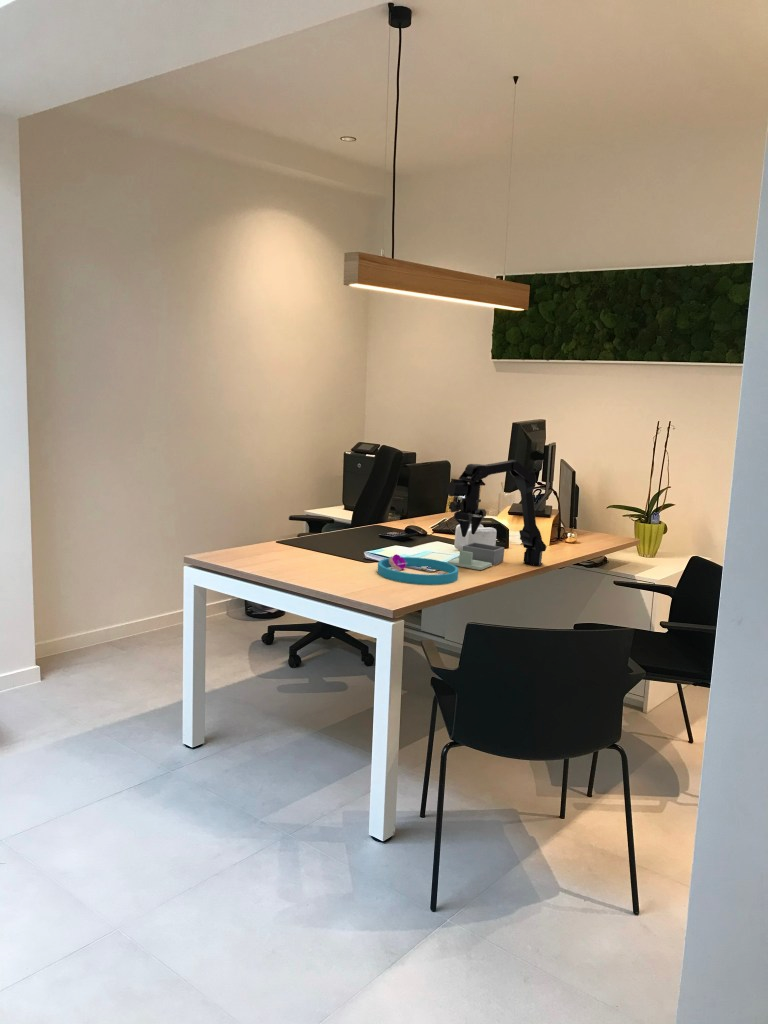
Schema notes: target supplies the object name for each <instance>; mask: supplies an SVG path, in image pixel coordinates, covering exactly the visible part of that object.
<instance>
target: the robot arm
mask: <svg viewBox="0 0 768 1024" xmlns="http://www.w3.org/2000/svg"><path fill="white" fill-rule="evenodd" d="M507 472H509V473H510V475H511V476H512V477H513V478H514V481H515V485H516V487H517V489H518V491H519V493H520V499H521V508H522V509H521V510H522V511H521V512H522V519H523V527H522V529H520V530H518V531H519V535H520V536H519V540H520V541H521V543H522V545H523V548H524V549H525V551H524V553H523V562H522V564H524V565H529V566H534V567H535V566H536V567H539V566H541V565H543V562H542V559H543V552H546V549H547V545H546V544H545V542H544V541H543V537H542V534H541V530H540V529H539V527H538V526H537V521H536V511H535V500H534V490H535V487H536V481H537V478H536V474H535V472H533V471H530V470H529V469H528V468H526V467H525V466H524V465H522V464H521V463H520V462H519V461H518V460H515V459H509V460H506V461H500V462H499V461H498V462H494V463H493V462H492V463H488V464H480V463H469V464H467V465H466V466H465V468H464V471H463V472H462V473H461V475H460V476H459V478H451V479H450V482H448V484H447V487H446V491H447V494H448V496H449V497H462V498H461V502H457V501H450V502H449V505H448V509H449V511H450V512H451V513H454V514H453V519H455V521H456V522H457V523H458V525H459V524H460V528H461V533H462V537H465V536H466V534H467V532H468V529H469V527H470V524H471V533H472V534H475V532H476V531H477V529H478V527H479V525H480V524H481V523H482V522H483V520H484V519H485V517H486V516H487V510H486V509H485V508H481V507H479V504H480V503H481V502H482V499H480V494H481V486H482V487H483V486H484V487H485V486H486V483H485V482H484V480H483V479H486V478H487V477H488V476H491V475H495V474H501V473H502V474H503V473H507ZM463 497H464V498H463ZM481 525H482V524H481Z"/></svg>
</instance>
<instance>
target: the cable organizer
mask: <svg viewBox="0 0 768 1024" xmlns="http://www.w3.org/2000/svg"><path fill="white" fill-rule="evenodd" d="M454 533H455V534H454V544H453V545H454V548H455V549H456V550H458V549H459V550H458V551H460V550H462V551H463V546H464V545H467V544H470V543H473V542H474V543H480V544H486V545H492V546H496V545H497V543H496V542H497V528H494V527H484V525H483V524H480V525H479V527H478V529H477V531H476V532H475V534H472V533H471V524H470V527H469V529H468V532H467V534H466V536H465V537H462V533H461V528H460V524H459V523H458V525H456V527H455V532H454Z"/></svg>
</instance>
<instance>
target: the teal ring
mask: <svg viewBox="0 0 768 1024" xmlns="http://www.w3.org/2000/svg"><path fill="white" fill-rule="evenodd" d="M422 566H428V567H431V568H432V570H437V571H433V573H434V574H425V573H424V574H420V573H411V572H404V571H402V570H403V569H405V568H406V567H414V568H421V570H422V571H426V570H427V569H429V568H427V567H422ZM431 568H430V569H431ZM377 573H378V575H380V577H382V578H385V579H388V580H391V581H395V582H398V583H405V584H414V585H423V586H424V585H429V586H432V585H434V586H436V585H437V586H438V585H447V584H451V583H455V582H457V581H458V578H459V567H458V566H454V565H452V564H450V563H448V561H441V560H438V559H432V558H425V557H414V556H413V557H412V556H401V555H399V554H394V555H392V556H389V557H388V558H383V559H381V560H379V561H378V563H377Z"/></svg>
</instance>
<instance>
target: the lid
mask: <svg viewBox="0 0 768 1024" xmlns="http://www.w3.org/2000/svg"><path fill="white" fill-rule="evenodd" d="M472 558H473V552H468V551H463V550H461V551H460V550H459V556H458V557H456V558H454V559H450V560H448V561H447V563H450V564H452V565H454V566H456V567H461V568H464V569H465V568H466V569H472V570H476V571H482V570H484V569H486V568H489V567H491V566H492V563H489V562H483V561H478V560H472Z"/></svg>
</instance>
